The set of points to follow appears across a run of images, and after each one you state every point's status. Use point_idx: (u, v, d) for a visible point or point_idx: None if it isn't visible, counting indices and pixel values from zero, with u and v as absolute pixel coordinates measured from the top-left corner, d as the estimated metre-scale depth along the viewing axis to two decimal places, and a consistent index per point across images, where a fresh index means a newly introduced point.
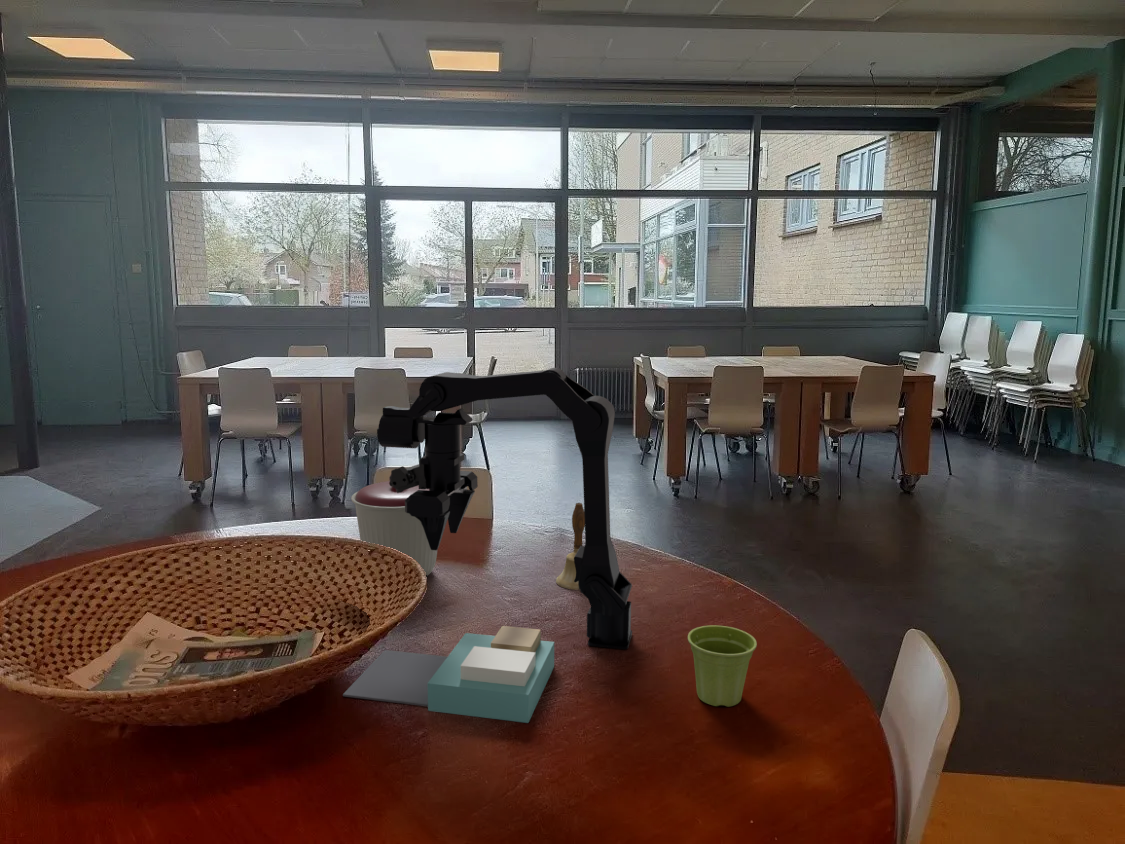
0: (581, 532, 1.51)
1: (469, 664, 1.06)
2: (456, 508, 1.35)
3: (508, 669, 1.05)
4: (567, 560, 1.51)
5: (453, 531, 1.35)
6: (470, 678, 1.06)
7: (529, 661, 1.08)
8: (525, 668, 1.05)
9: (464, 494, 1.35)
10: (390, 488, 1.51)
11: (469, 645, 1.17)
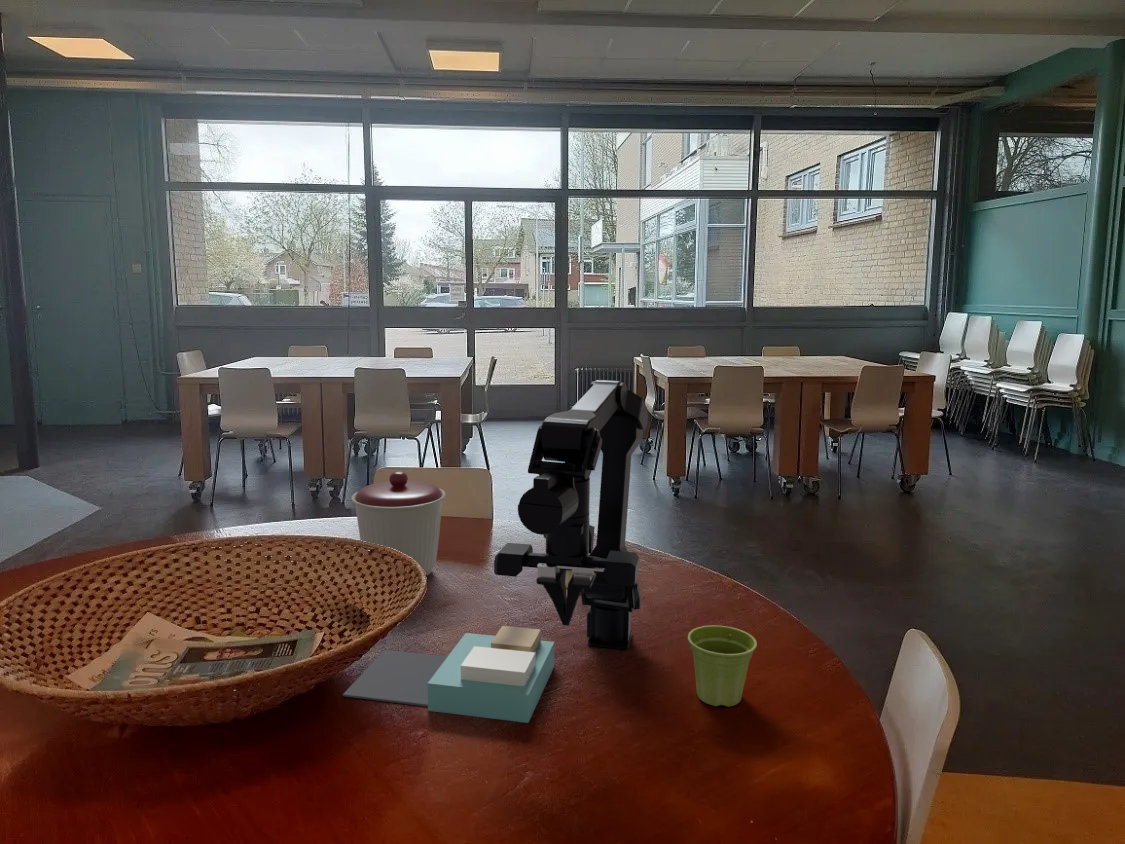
0: None
1: (469, 664, 1.06)
2: None
3: (508, 669, 1.05)
4: None
5: None
6: (470, 678, 1.06)
7: (529, 661, 1.08)
8: (525, 668, 1.05)
9: (570, 581, 1.02)
10: (390, 488, 1.51)
11: (469, 645, 1.17)
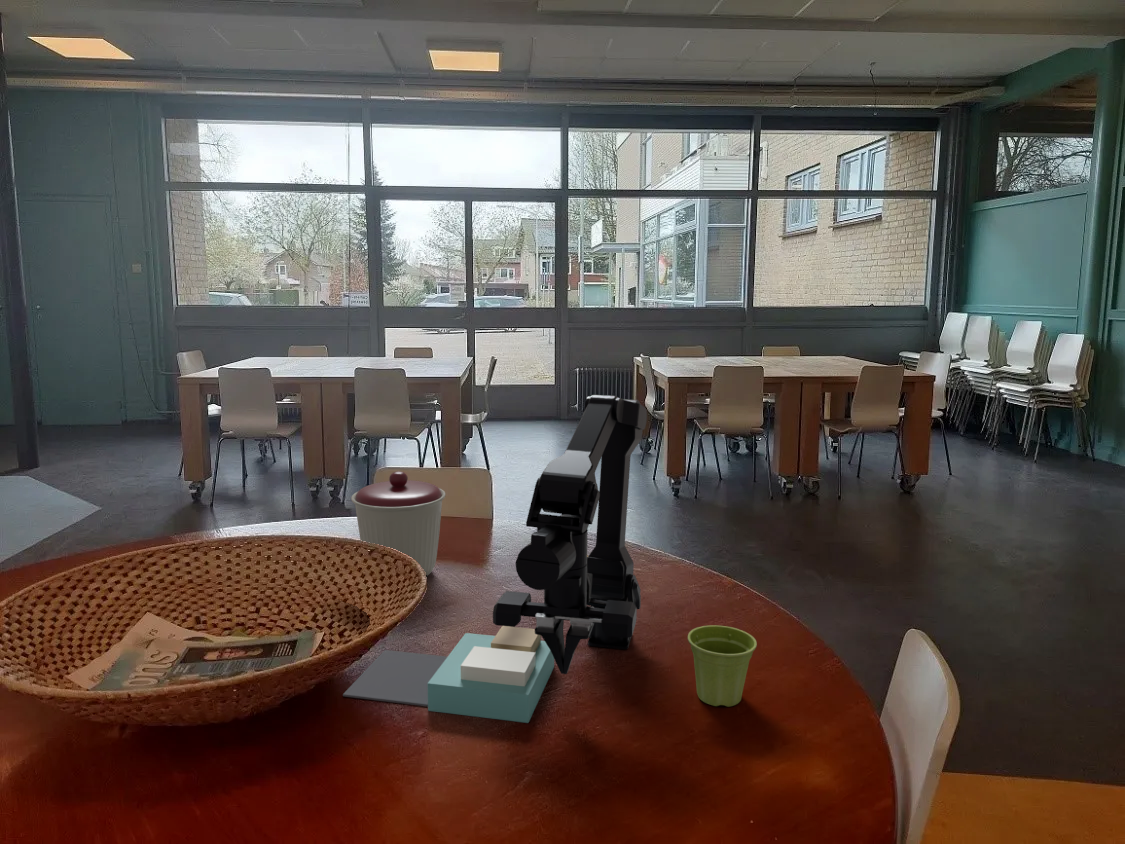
0: None
1: (469, 664, 1.06)
2: None
3: (508, 669, 1.05)
4: None
5: None
6: (470, 678, 1.06)
7: (529, 661, 1.08)
8: (525, 668, 1.05)
9: (568, 631, 1.03)
10: (390, 488, 1.51)
11: (469, 645, 1.17)
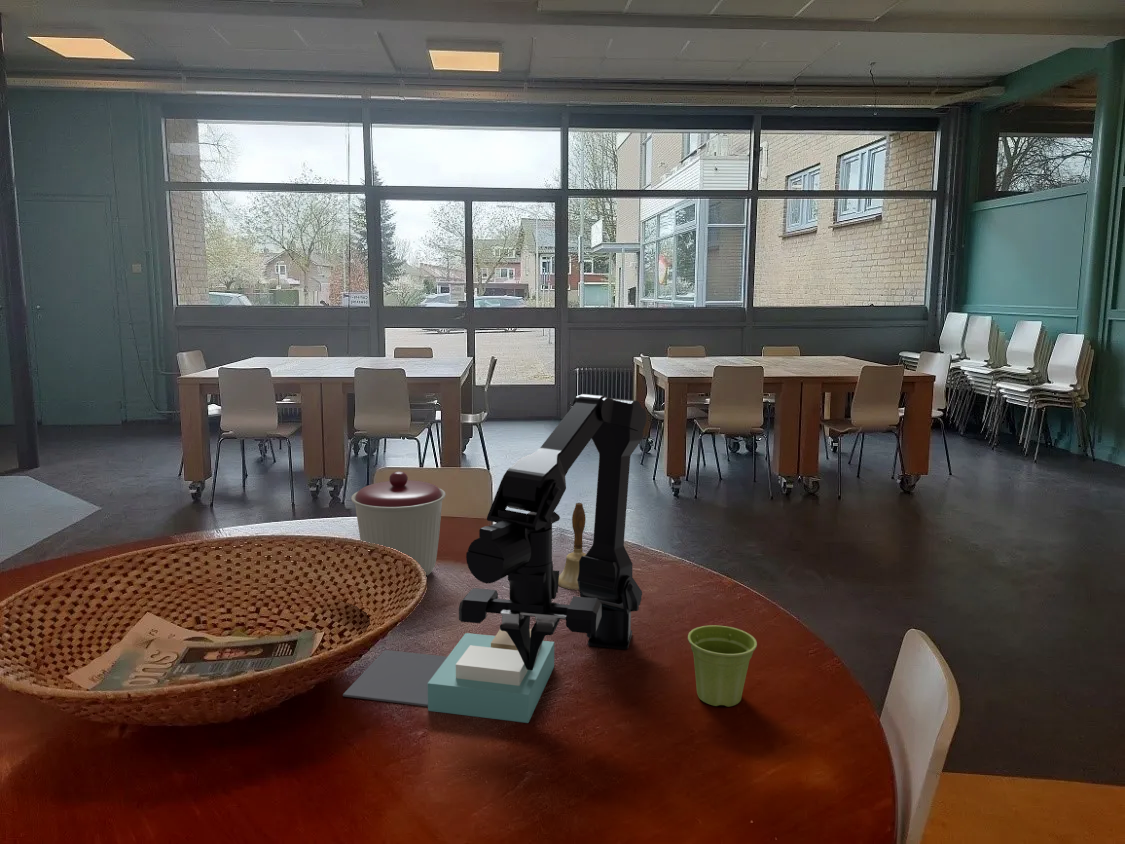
0: (581, 532, 1.51)
1: (464, 663, 1.07)
2: None
3: (502, 669, 1.05)
4: (567, 560, 1.51)
5: None
6: (465, 677, 1.06)
7: None
8: (520, 667, 1.06)
9: (533, 628, 1.04)
10: (390, 488, 1.51)
11: (469, 645, 1.17)
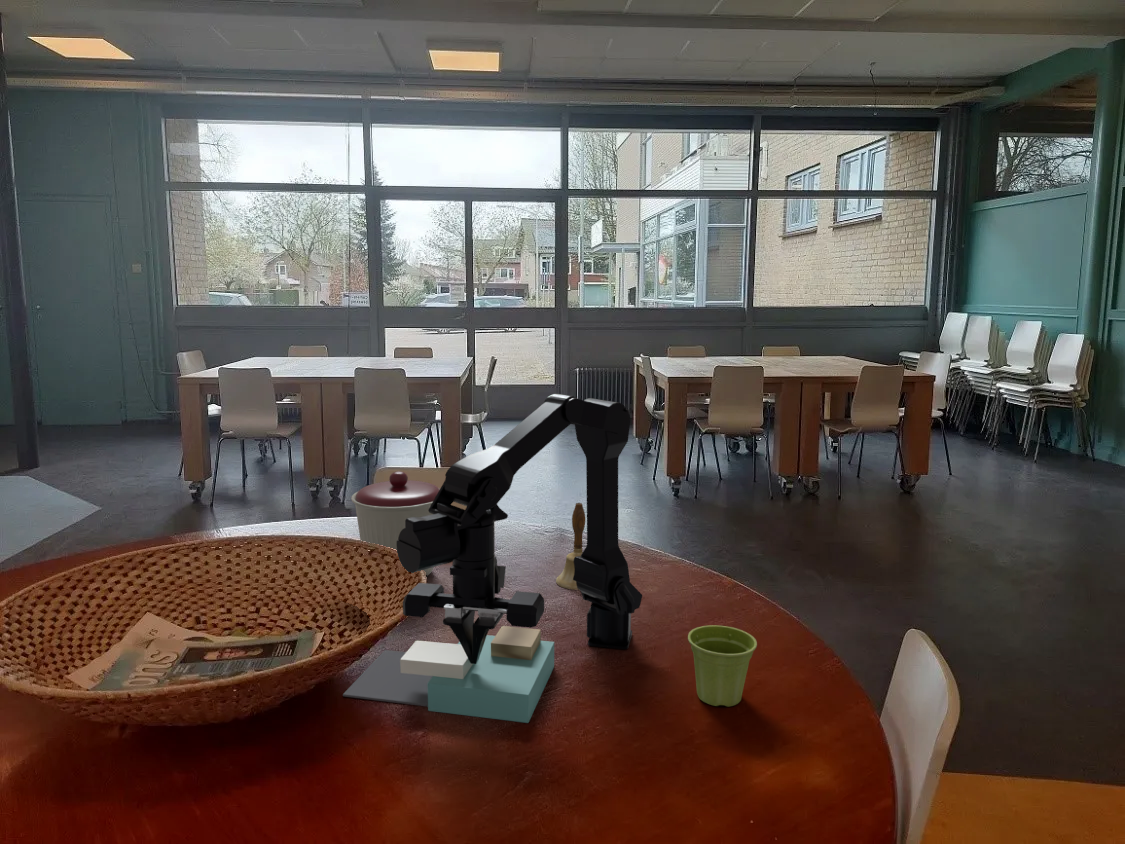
0: (581, 532, 1.51)
1: (409, 658, 1.08)
2: None
3: (446, 663, 1.07)
4: (567, 560, 1.51)
5: None
6: (410, 671, 1.08)
7: None
8: (464, 661, 1.07)
9: (475, 622, 1.06)
10: (390, 488, 1.51)
11: None
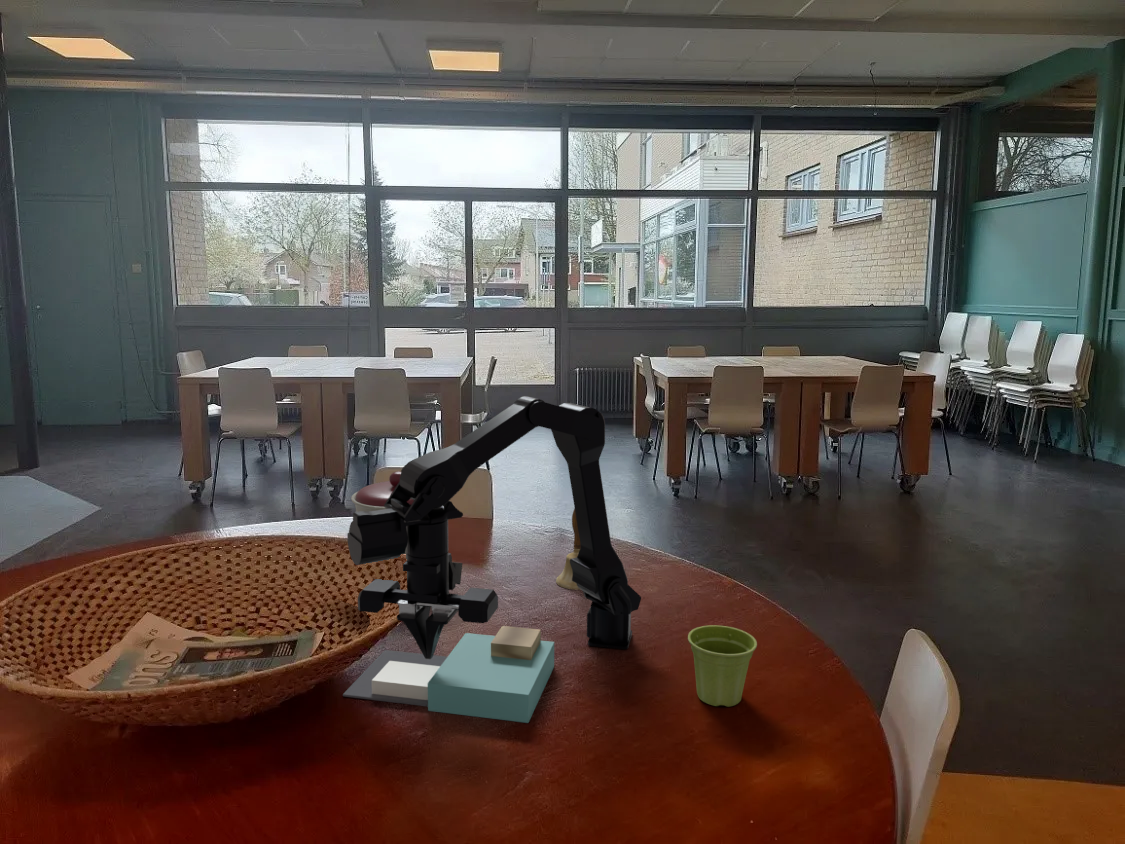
0: None
1: (380, 679, 1.10)
2: None
3: (416, 684, 1.08)
4: (567, 560, 1.51)
5: None
6: (381, 692, 1.09)
7: None
8: None
9: (429, 617, 1.07)
10: (390, 488, 1.51)
11: (469, 645, 1.17)
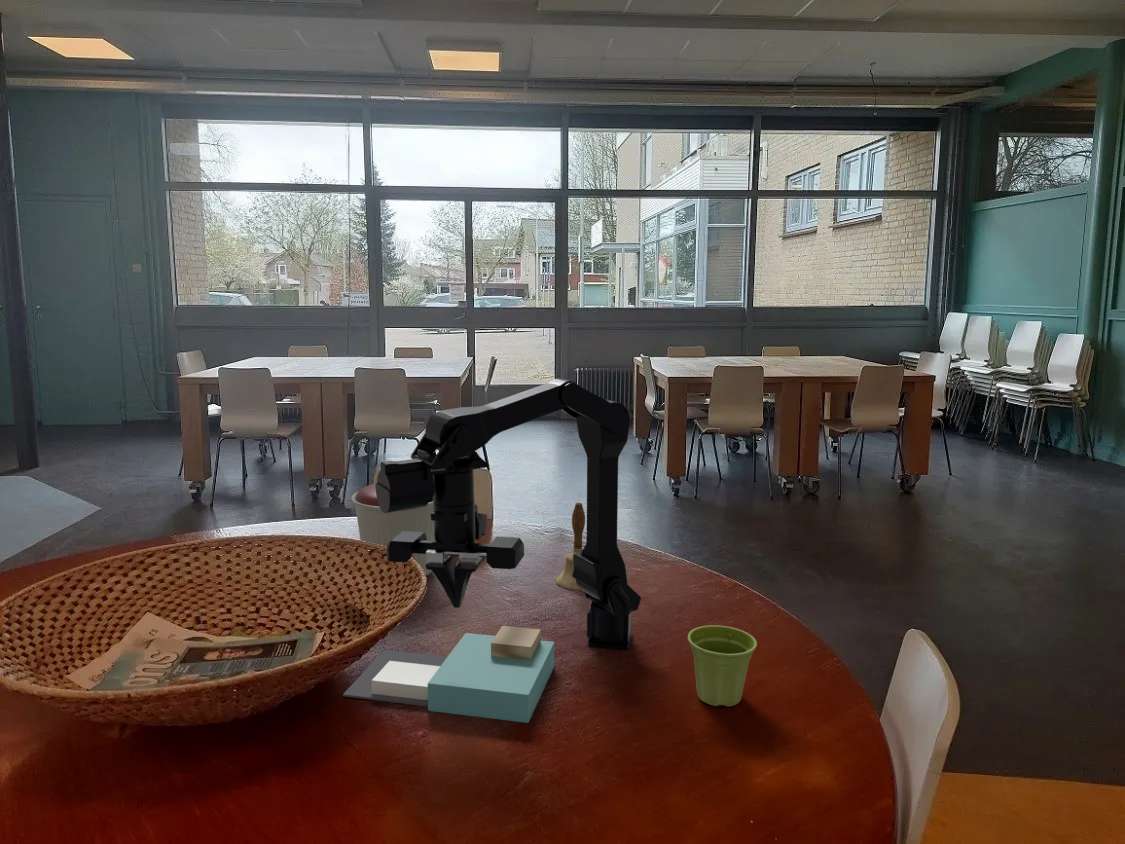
0: (581, 532, 1.51)
1: (380, 679, 1.10)
2: None
3: (416, 684, 1.08)
4: (567, 560, 1.51)
5: None
6: (381, 692, 1.09)
7: None
8: None
9: (457, 566, 1.09)
10: None
11: (469, 645, 1.17)
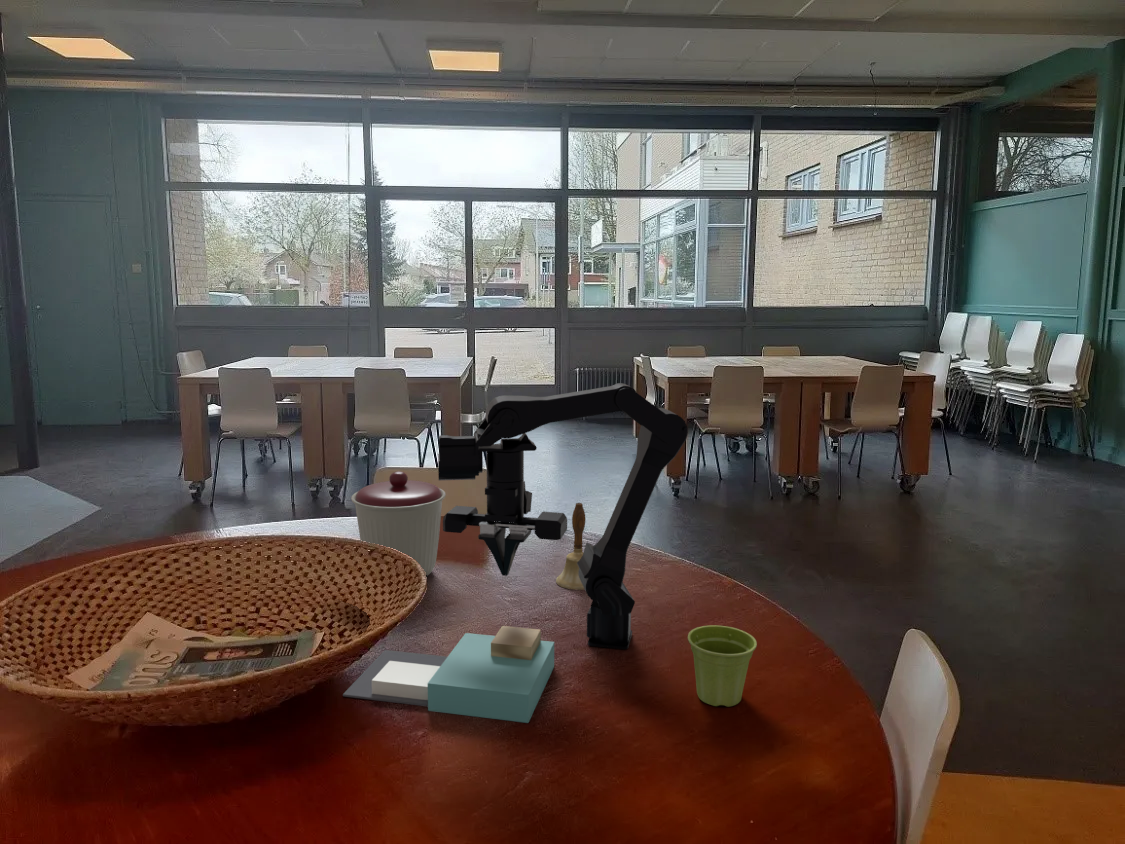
0: (581, 532, 1.51)
1: (380, 679, 1.10)
2: None
3: (416, 684, 1.08)
4: (567, 560, 1.51)
5: None
6: (381, 692, 1.09)
7: None
8: None
9: (507, 537, 1.20)
10: (390, 488, 1.51)
11: (469, 645, 1.17)
